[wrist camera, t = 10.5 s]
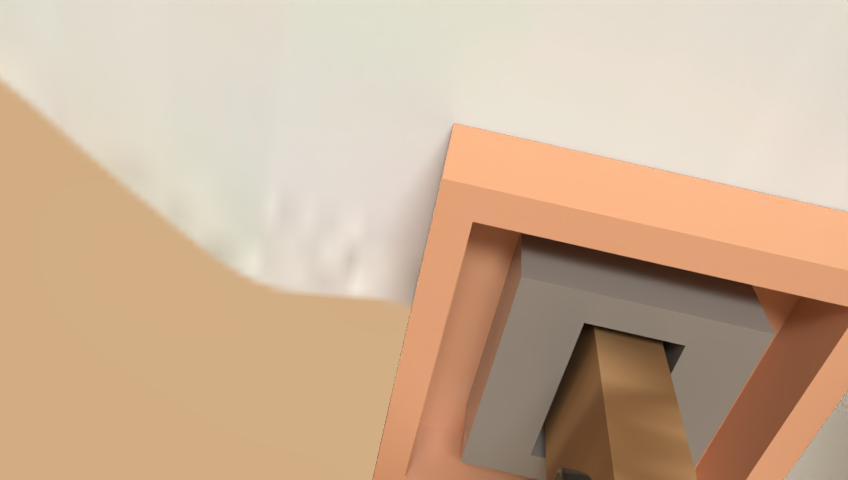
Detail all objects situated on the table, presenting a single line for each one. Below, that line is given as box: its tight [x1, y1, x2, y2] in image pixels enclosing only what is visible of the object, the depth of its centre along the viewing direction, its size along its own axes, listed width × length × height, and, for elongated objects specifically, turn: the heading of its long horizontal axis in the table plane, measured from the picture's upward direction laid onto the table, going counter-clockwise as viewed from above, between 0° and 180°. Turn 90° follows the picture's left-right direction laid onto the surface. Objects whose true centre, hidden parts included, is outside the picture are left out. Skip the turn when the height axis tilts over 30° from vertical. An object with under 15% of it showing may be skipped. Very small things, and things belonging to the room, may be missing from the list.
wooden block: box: [544, 323, 697, 480], centre depth 19 cm, size 2×4×8 cm, turn 167°
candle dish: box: [373, 123, 848, 480], centre depth 22 cm, size 12×12×4 cm
